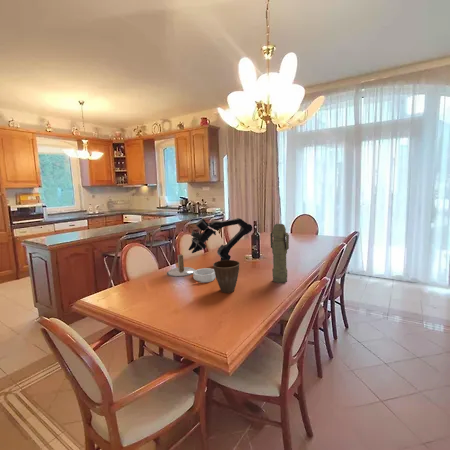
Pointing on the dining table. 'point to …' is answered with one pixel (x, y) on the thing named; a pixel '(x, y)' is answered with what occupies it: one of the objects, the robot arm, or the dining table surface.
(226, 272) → the plant pot
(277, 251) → the stone statue
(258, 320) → the dining table surface
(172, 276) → the mat
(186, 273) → the lid
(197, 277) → the bowl
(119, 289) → the dining table surface
